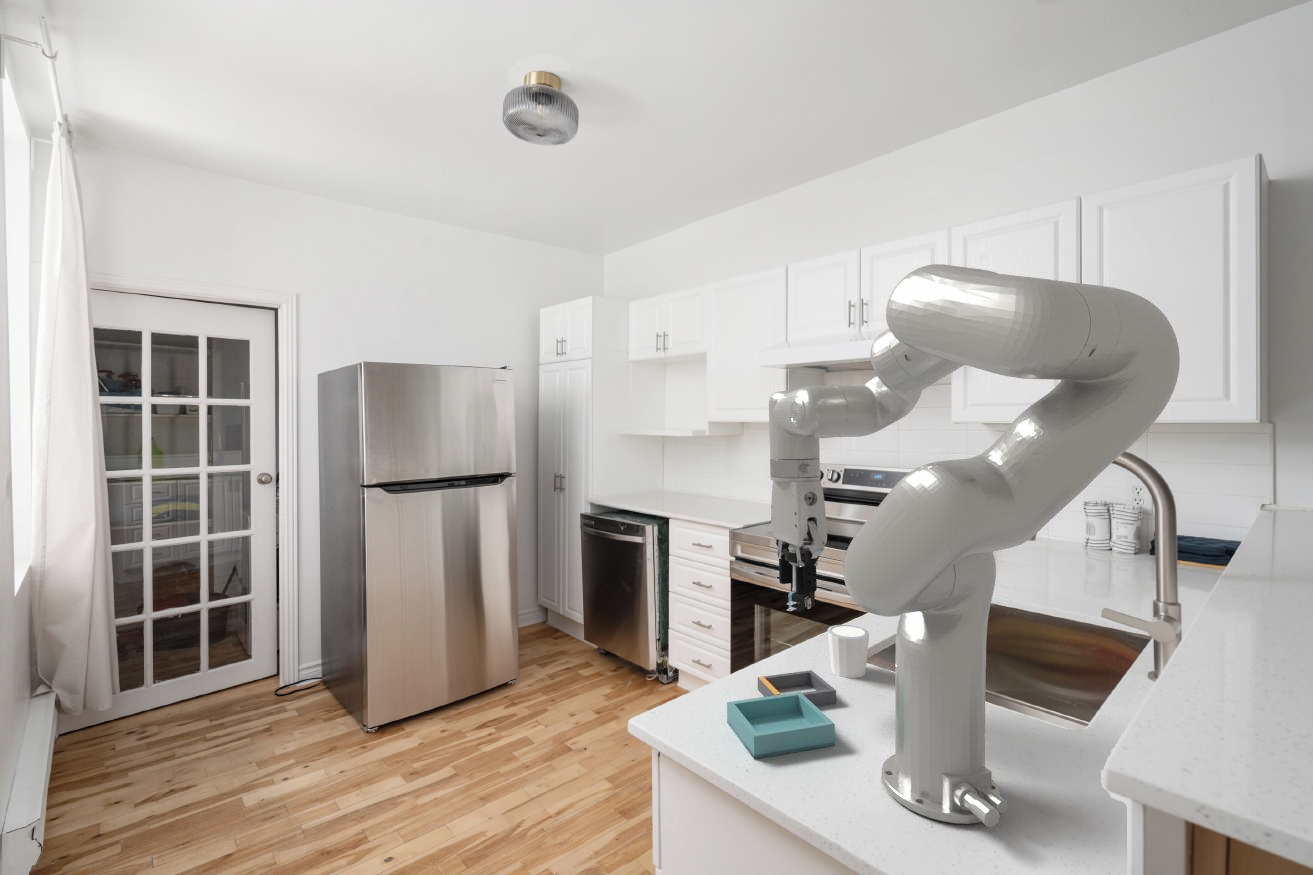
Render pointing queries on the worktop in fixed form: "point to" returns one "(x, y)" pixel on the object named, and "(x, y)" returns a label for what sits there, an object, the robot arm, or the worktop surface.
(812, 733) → the tray
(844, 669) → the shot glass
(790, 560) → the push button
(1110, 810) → the worktop surface
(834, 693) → the box
